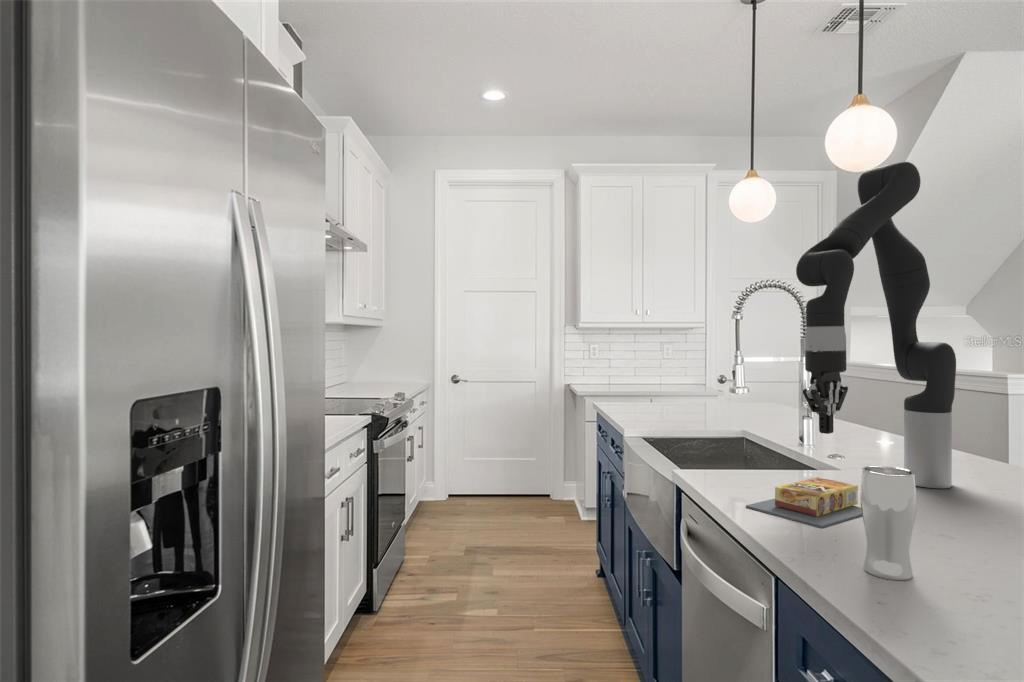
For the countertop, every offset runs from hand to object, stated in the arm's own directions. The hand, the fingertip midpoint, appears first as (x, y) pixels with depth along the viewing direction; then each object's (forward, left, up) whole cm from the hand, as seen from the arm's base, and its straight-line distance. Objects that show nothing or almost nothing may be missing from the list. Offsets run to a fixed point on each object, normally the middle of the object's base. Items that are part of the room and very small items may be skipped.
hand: (826, 432), depth 125 cm
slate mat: (+6, 0, -15) cm, 16 cm away
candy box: (-4, 0, -12) cm, 13 cm away
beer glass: (+27, +25, -15) cm, 40 cm away
